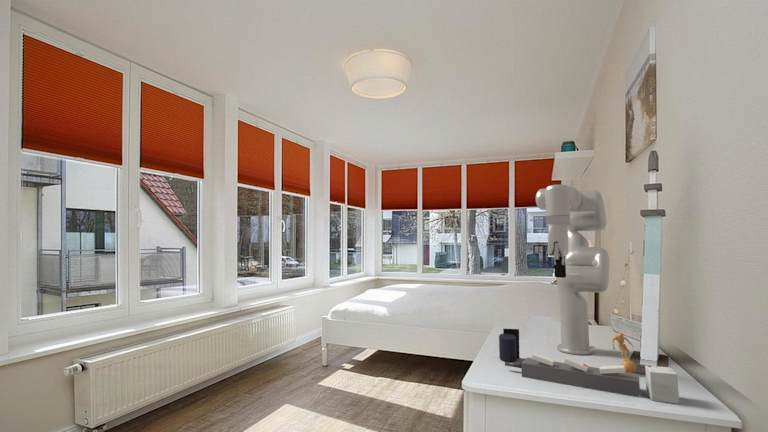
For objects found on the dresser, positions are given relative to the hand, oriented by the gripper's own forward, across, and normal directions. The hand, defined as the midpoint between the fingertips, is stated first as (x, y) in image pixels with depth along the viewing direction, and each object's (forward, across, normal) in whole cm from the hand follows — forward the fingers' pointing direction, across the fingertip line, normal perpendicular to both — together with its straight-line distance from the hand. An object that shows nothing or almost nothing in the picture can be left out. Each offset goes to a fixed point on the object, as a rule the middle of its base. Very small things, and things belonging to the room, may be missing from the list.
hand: (560, 277), depth 131 cm
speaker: (+29, +1, -17) cm, 34 cm away
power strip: (+29, +13, +3) cm, 32 cm away
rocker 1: (+24, +14, -3) cm, 28 cm away
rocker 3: (+24, +14, +15) cm, 31 cm away
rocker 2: (+24, +14, +6) cm, 28 cm away
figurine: (+29, -5, +17) cm, 34 cm away
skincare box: (+29, +14, +26) cm, 42 cm away
